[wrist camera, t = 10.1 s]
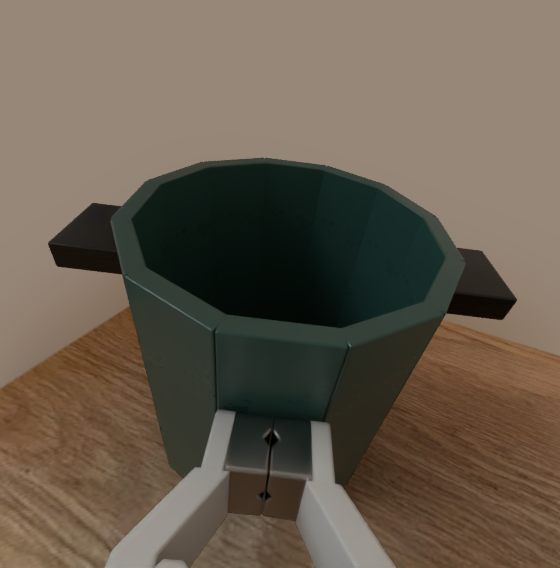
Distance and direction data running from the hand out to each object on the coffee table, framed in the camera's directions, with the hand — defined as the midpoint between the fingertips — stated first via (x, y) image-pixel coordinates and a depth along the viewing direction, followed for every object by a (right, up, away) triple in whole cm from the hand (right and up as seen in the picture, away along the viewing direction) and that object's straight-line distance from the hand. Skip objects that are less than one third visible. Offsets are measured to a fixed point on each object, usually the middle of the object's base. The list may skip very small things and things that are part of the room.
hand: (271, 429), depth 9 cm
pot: (-1, -2, +9) cm, 9 cm away
